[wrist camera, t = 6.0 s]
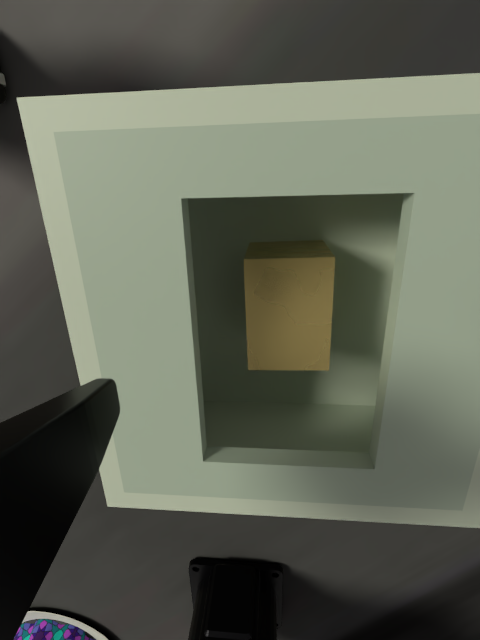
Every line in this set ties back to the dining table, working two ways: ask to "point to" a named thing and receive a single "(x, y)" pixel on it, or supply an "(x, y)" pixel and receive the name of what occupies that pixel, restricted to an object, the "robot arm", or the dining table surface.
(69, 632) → the pudding
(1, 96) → the battery charger
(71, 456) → the robot arm
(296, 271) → the khaki wooden block
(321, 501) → the open box
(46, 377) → the dining table surface
